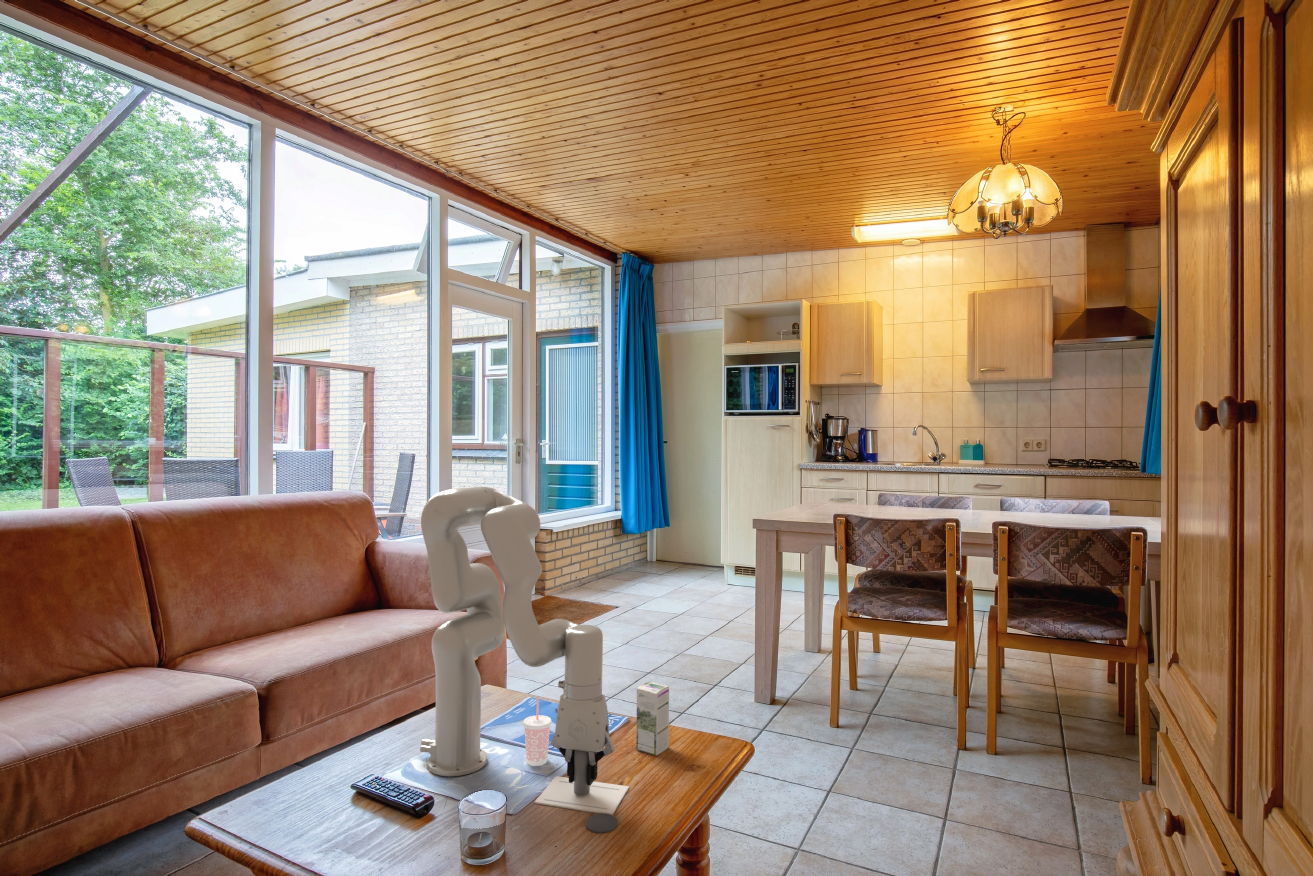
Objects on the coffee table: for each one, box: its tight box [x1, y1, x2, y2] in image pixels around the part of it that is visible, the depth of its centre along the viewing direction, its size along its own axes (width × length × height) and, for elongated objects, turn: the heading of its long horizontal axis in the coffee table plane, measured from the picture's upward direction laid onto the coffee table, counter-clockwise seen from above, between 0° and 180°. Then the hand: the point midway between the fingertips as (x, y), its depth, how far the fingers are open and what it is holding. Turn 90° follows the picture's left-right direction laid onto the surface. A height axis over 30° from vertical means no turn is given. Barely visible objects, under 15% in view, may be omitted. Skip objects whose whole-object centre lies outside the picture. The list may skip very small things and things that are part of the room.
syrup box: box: [635, 681, 670, 756], centre depth 165 cm, size 6×6×14 cm
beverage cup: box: [522, 697, 552, 767], centre depth 158 cm, size 6×6×14 cm
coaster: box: [584, 813, 619, 834], centre depth 132 cm, size 6×6×1 cm
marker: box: [574, 750, 590, 796], centre depth 143 cm, size 3×3×11 cm
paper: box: [534, 776, 630, 816], centre depth 143 cm, size 16×11×1 cm
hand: (582, 780), depth 143 cm, fingers closed on marker, 3 cm apart
